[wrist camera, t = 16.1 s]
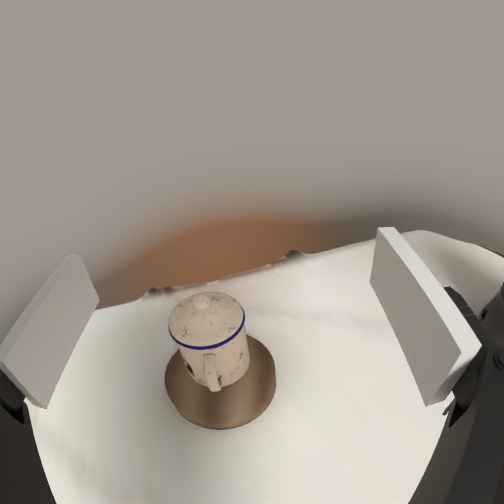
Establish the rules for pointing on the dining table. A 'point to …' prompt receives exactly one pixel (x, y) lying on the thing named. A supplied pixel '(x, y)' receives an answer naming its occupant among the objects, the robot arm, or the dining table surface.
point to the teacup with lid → (211, 338)
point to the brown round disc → (224, 392)
